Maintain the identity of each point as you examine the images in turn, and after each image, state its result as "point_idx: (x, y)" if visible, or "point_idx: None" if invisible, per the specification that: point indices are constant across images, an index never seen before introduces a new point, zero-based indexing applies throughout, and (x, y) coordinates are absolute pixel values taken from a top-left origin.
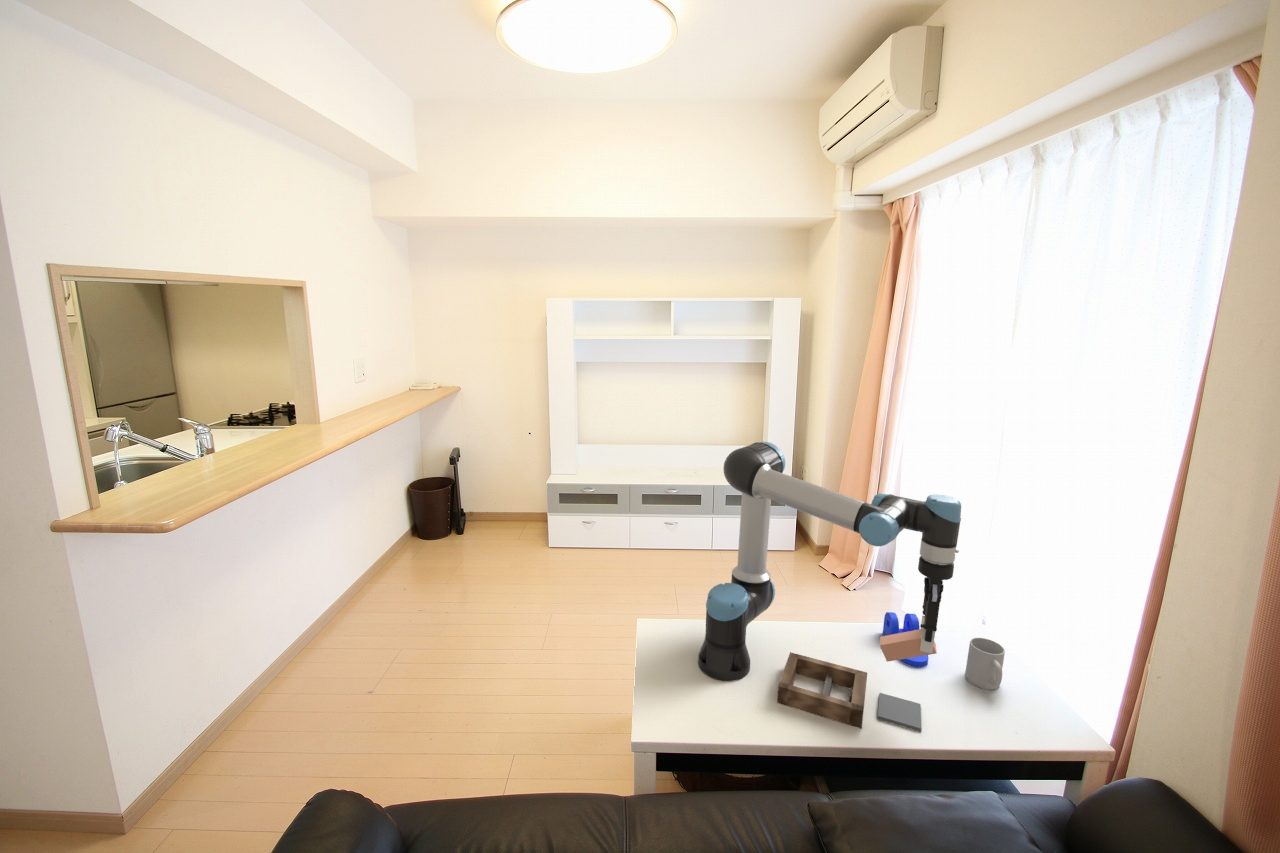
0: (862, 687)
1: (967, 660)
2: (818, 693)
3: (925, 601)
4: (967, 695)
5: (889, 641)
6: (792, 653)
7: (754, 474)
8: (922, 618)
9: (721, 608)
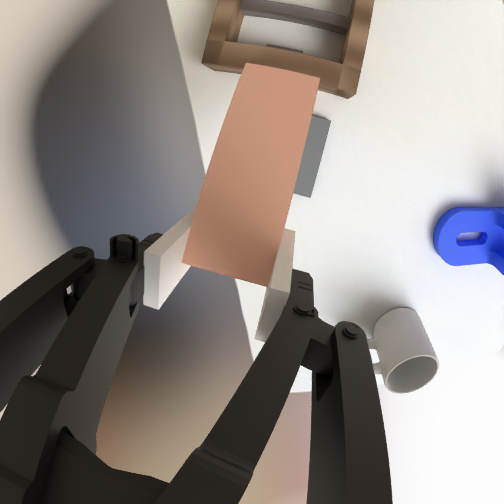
0: (289, 69)
1: (416, 327)
2: None
3: (244, 381)
4: (358, 293)
5: (253, 96)
6: None
7: None
8: (271, 283)
9: None
